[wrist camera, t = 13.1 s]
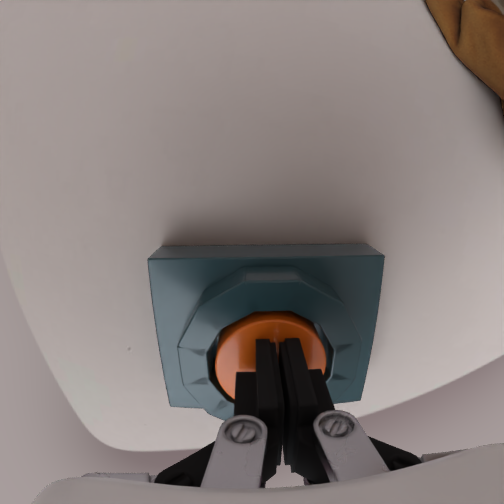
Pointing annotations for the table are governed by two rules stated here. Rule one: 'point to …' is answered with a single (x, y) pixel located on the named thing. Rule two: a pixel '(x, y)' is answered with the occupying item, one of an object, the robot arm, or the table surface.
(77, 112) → the table surface
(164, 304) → the dark teal square block
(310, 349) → the button
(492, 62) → the stuffed squirrel
